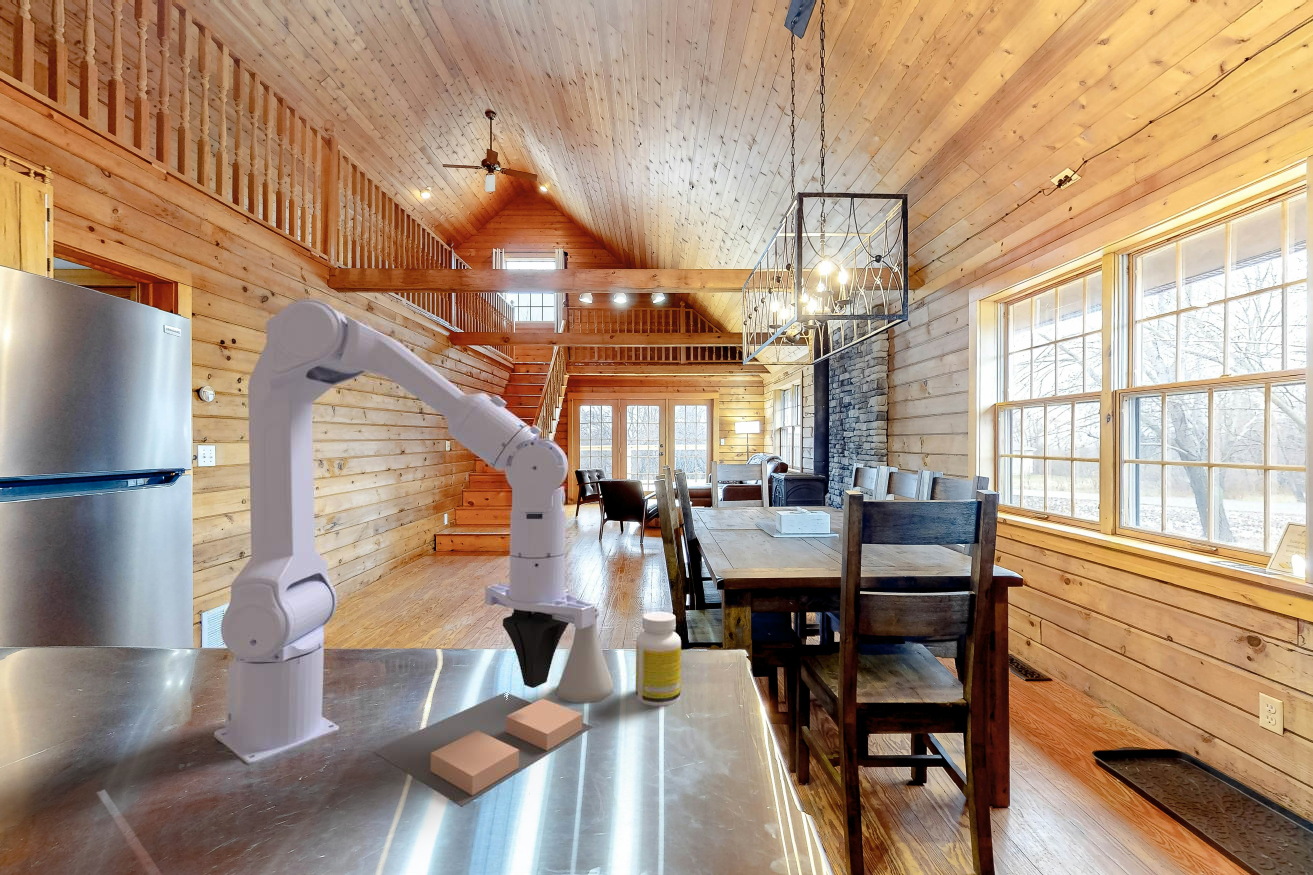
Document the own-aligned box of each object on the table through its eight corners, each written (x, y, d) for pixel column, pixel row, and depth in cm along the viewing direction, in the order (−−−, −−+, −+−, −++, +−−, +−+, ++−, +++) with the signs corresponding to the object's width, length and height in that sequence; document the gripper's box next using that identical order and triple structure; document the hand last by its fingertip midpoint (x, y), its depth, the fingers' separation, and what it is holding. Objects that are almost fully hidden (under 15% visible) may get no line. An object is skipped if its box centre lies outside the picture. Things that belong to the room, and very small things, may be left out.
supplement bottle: (689, 701, 65) (690, 618, 65) (651, 713, 62) (652, 625, 62) (663, 685, 69) (664, 607, 70) (626, 695, 66) (627, 613, 67)
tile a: (430, 752, 49) (472, 775, 46) (477, 730, 54) (519, 749, 50) (430, 771, 49) (472, 796, 46) (477, 747, 54) (518, 768, 50)
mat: (372, 755, 53) (372, 750, 53) (505, 695, 66) (505, 692, 66) (462, 810, 45) (462, 805, 45) (592, 730, 58) (593, 726, 58)
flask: (605, 709, 63) (606, 621, 63) (545, 703, 64) (547, 617, 64) (621, 683, 70) (622, 604, 70) (567, 678, 71) (568, 600, 71)
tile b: (506, 716, 56) (547, 733, 53) (542, 698, 61) (582, 713, 57) (505, 732, 56) (547, 751, 53) (541, 714, 60) (582, 730, 57)
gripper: (615, 555, 57) (613, 687, 57) (520, 541, 65) (518, 656, 65) (567, 566, 51) (565, 713, 51) (470, 549, 60) (467, 675, 59)
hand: (535, 683), depth 58 cm, fingers closed
